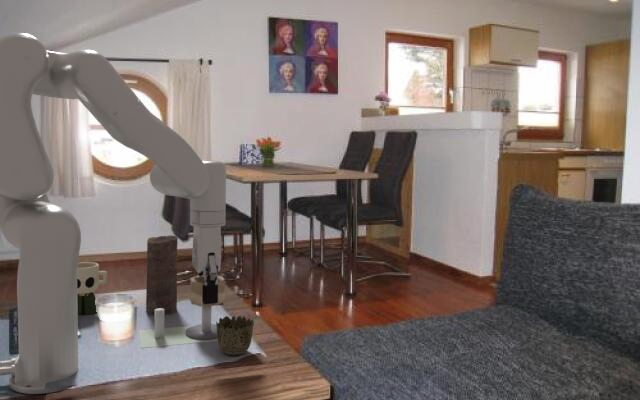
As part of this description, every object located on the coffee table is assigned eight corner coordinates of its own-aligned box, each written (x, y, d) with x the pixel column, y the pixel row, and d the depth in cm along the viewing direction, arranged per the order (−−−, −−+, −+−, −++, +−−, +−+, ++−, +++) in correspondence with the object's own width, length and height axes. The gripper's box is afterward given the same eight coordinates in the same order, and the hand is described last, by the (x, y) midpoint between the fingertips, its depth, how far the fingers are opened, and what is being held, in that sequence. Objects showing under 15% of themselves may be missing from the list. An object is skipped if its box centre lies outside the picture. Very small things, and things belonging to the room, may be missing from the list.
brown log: (178, 319, 134) (179, 238, 132) (147, 322, 132) (147, 239, 130) (174, 310, 141) (175, 233, 139) (144, 313, 139) (145, 234, 137)
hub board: (141, 355, 112) (141, 316, 111) (138, 336, 122) (138, 301, 121) (231, 346, 118) (232, 309, 117) (222, 329, 128) (222, 296, 128)
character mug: (57, 324, 129) (57, 269, 127) (59, 315, 135) (58, 263, 134) (108, 319, 133) (107, 266, 132) (106, 311, 139) (106, 260, 138)
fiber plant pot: (245, 368, 107) (246, 328, 106) (209, 364, 108) (210, 325, 107) (257, 354, 114) (258, 317, 113) (224, 351, 115) (224, 313, 114)
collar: (193, 306, 116) (193, 283, 116) (188, 298, 123) (189, 276, 122) (226, 304, 119) (226, 281, 118) (220, 295, 125) (220, 274, 125)
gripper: (185, 213, 126) (184, 289, 128) (195, 224, 110) (195, 311, 111) (218, 212, 128) (217, 287, 130) (233, 223, 112) (232, 308, 114)
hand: (207, 297), depth 121 cm, fingers closed on collar, 7 cm apart
